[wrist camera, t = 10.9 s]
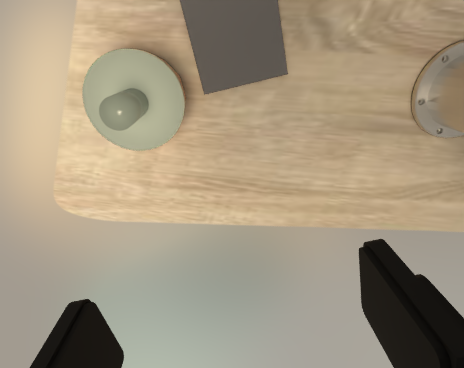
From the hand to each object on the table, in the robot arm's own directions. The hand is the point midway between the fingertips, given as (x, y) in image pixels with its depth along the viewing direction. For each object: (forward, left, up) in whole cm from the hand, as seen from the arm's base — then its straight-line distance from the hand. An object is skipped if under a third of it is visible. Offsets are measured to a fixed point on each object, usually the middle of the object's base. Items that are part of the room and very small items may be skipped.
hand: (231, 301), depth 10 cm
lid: (+9, -5, -27) cm, 29 cm away
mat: (-4, -9, -32) cm, 34 cm away
